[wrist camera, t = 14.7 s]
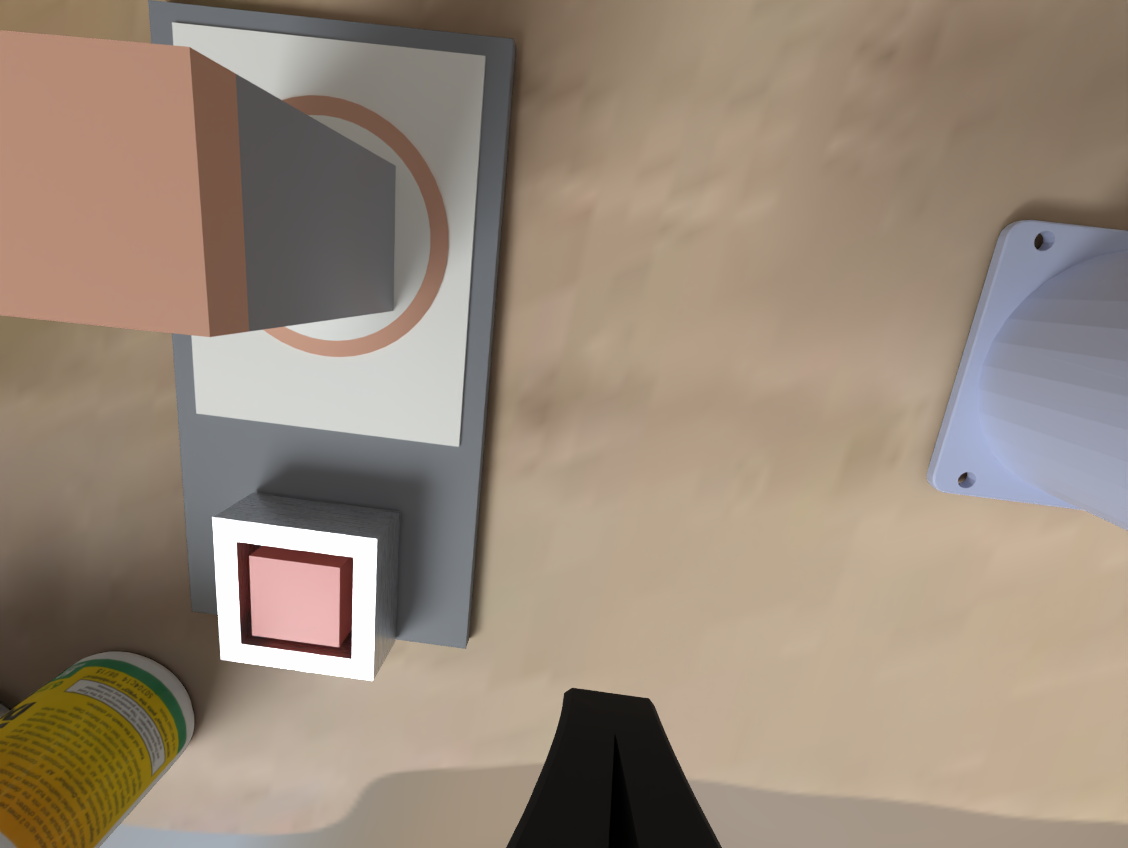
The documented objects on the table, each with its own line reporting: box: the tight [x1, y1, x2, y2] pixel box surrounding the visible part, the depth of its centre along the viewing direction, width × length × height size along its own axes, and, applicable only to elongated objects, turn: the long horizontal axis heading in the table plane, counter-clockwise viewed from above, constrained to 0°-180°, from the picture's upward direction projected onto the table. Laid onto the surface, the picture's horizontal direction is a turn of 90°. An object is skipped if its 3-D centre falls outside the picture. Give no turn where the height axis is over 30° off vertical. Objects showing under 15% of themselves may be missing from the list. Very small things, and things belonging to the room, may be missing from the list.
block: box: [0, 30, 396, 337], centre depth 12 cm, size 4×4×8 cm
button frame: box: [212, 492, 400, 681], centre depth 18 cm, size 5×5×2 cm
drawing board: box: [148, 0, 516, 649], centre depth 17 cm, size 10×19×1 cm, turn 174°
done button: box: [249, 545, 353, 647], centre depth 18 cm, size 3×3×2 cm
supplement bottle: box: [0, 651, 194, 848], centre depth 17 cm, size 5×5×10 cm
